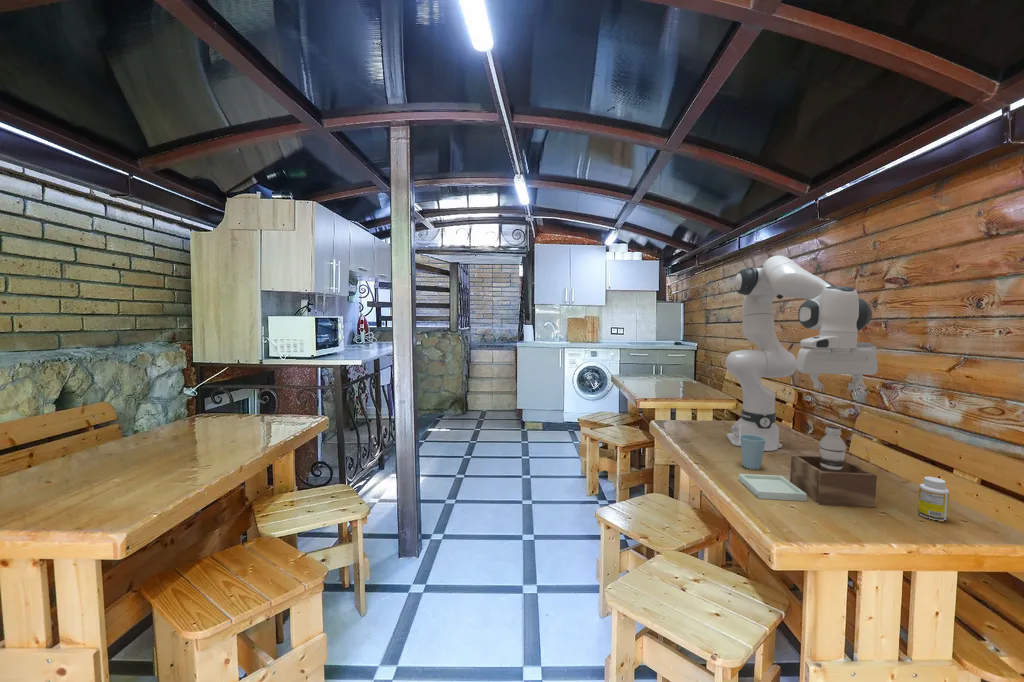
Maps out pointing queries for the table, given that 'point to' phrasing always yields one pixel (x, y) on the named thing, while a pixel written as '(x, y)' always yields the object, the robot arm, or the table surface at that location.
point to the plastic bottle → (832, 450)
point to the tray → (772, 487)
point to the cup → (752, 451)
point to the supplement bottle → (933, 499)
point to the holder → (833, 482)
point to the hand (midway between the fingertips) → (835, 389)
